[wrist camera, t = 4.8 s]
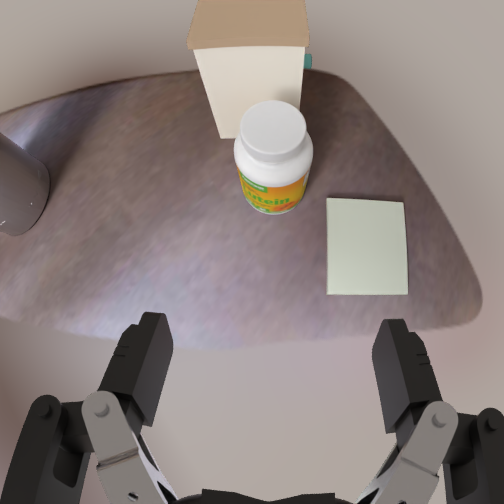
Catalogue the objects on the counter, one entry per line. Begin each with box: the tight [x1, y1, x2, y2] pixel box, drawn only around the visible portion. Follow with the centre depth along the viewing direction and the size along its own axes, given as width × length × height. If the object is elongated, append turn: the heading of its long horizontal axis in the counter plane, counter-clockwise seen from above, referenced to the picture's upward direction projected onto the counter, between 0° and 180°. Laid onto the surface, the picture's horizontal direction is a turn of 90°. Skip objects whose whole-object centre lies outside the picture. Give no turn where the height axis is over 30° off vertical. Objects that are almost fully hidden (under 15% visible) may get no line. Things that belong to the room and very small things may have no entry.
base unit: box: [186, 0, 312, 139], centre depth 22 cm, size 8×5×13 cm
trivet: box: [326, 198, 408, 295], centre depth 25 cm, size 7×8×1 cm
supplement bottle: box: [234, 100, 313, 215], centre depth 22 cm, size 5×5×10 cm
